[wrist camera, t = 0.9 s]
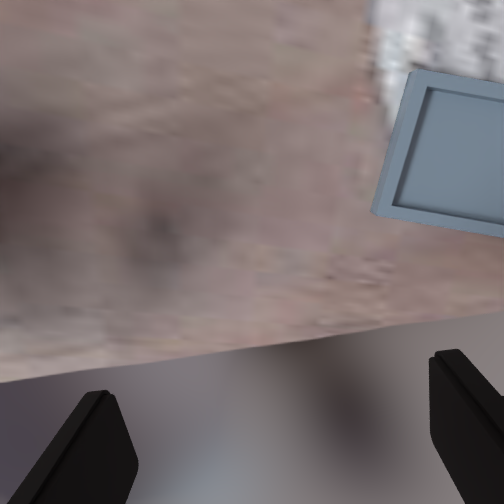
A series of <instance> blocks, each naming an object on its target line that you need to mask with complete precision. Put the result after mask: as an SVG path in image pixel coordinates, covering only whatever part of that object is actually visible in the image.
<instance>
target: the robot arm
mask: <svg viewBox="0 0 504 504" xmlns="http://www.w3.org/2000/svg"><path fill="white" fill-rule="evenodd" d="M429 400H430V434H431V438H432V441H433V444H434V446H435V448H436V450H437V452H438V453H439V456H440V458H441V459H442V461H443V463H444V465H445V467H446V469H447V471H448V472H449V474H450V476H451V478H452V480H453V482H454V484H455V486H456V487H457V489H458V491H459V493H460V495H461V497H462V498H463V500H464V502H465V504H504V396H501V395H500V394H499V393H498V392H497V391H496V390H495V388H494V387H493V386H492V385H491V384H490V383H489V382H488V380H487V379H486V378H485V377H484V376H483V375H482V374H481V373H480V372H479V370H478V369H477V368H476V367H475V366H474V365H473V364H472V363H471V361H470V360H469V359H468V358H467V357H466V356H465V355H464V354H463V353H462V352H461V351H460V350H459V349H452V350H443V351H437V352H435V357H431V358H430V359H429ZM137 472H138V458H137V455H136V452H135V450H134V447H133V444H132V441H131V439H130V436H129V433H128V430H127V428H126V425H125V422H124V420H123V417H122V414H121V411H120V408H119V406H118V403H117V400H116V398H115V396H114V395H113V394H110V393H109V392H108V391H107V390H101V391H92V392H87V393H86V394H85V395H84V396H83V398H82V399H81V400H80V402H79V403H78V405H77V406H76V408H75V409H74V410H73V412H72V413H71V414H70V416H69V417H68V419H67V420H66V421H65V423H64V424H63V426H62V427H61V428H60V430H59V431H58V433H57V434H56V436H55V437H54V438H53V440H52V441H51V443H50V444H49V446H48V447H47V448H46V450H45V451H44V452H43V454H42V455H41V457H40V458H39V460H38V461H37V462H36V464H35V465H34V467H33V468H32V469H31V471H30V472H29V474H28V475H27V476H26V478H25V479H24V481H23V482H22V483H21V485H20V486H19V488H18V489H17V490H16V492H15V493H14V495H13V496H12V497H11V499H10V500H9V502H8V503H7V504H125V503H126V500H127V498H128V495H129V493H130V490H131V488H132V485H133V482H134V480H135V477H136V475H137Z"/></svg>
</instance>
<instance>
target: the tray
mask: <svg viewBox="0 0 504 504" xmlns="http://www.w3.org/2000/svg"><path fill="white" fill-rule="evenodd" d="M370 212H372V213H373V214H375V215H376V216H382V217H387V218H393V219H399V220H405V221H410V222H416V223H422V224H427V225H433V226H439V227H445V228H450V229H456V230H462V231H467V232H473V233H479V234H485V235H490V236H496V237H502V238H504V84H501V83H495V82H490V81H484V80H478V79H473V78H467V77H462V76H456V75H451V74H445V73H439V72H434V71H428V70H423V69H416V70H414V71H412V72H410V73H409V76H408V79H407V83H406V86H405V90H404V93H403V97H402V100H401V104H400V108H399V111H398V115H397V118H396V122H395V125H394V129H393V132H392V136H391V140H390V143H389V147H388V150H387V154H386V157H385V161H384V164H383V168H382V172H381V175H380V179H379V182H378V186H377V189H376V193H375V196H374V200H373V204H372V207H371V211H370Z"/></svg>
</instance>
